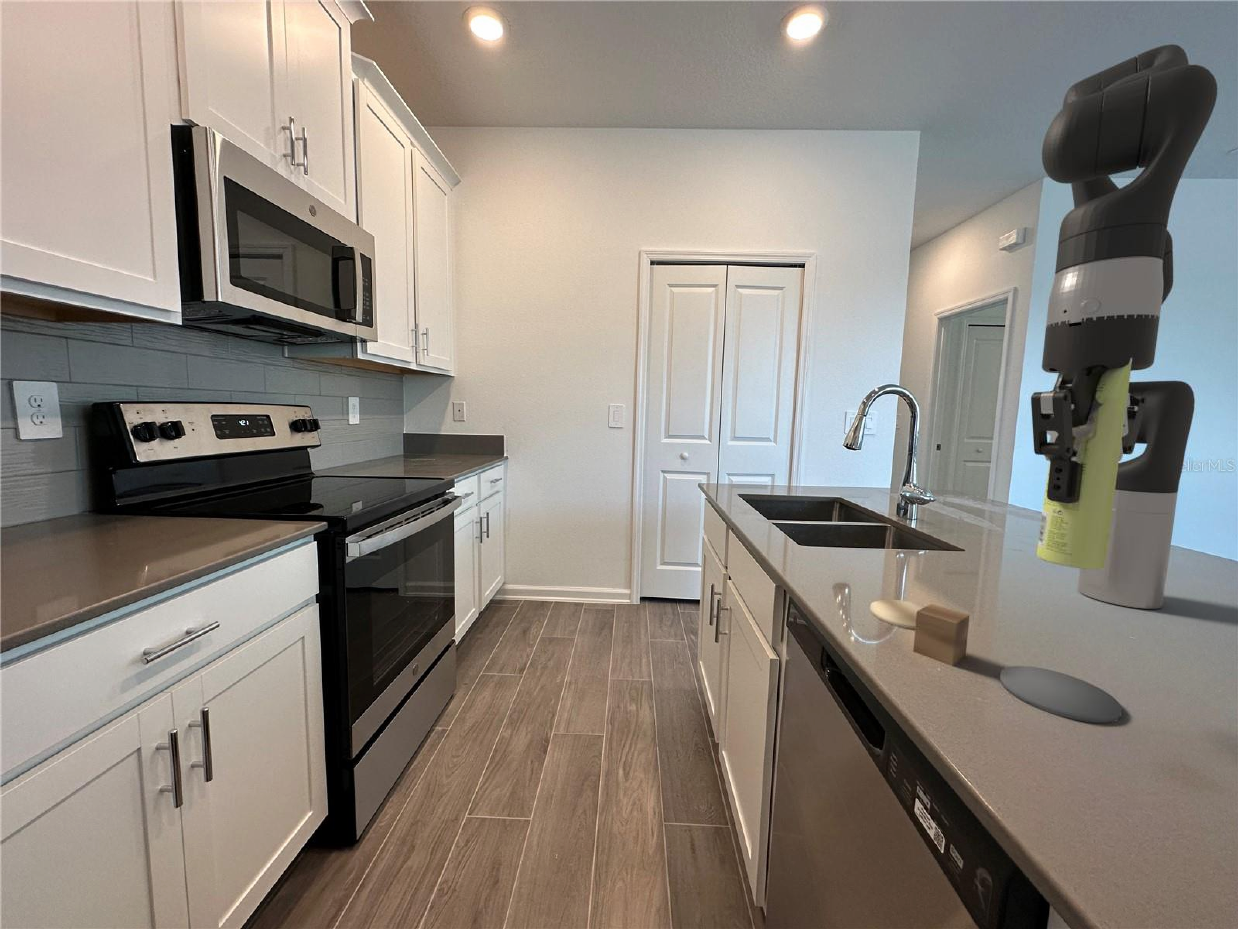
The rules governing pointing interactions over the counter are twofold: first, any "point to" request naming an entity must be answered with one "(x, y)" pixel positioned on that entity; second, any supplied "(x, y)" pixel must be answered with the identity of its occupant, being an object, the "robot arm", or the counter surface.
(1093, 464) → the tube
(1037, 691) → the pad
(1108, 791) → the counter surface
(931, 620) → the walnut block
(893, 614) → the pad
